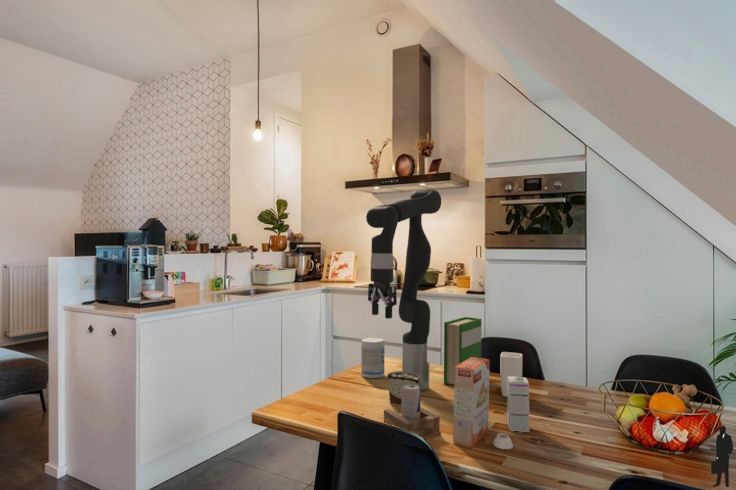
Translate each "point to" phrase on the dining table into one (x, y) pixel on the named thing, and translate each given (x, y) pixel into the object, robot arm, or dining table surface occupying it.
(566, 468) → the dining table surface
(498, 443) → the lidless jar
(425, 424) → the walnut cradle
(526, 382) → the syrup box
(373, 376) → the supplement tub
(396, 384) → the food container
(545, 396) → the dining table surface
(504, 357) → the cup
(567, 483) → the dining table surface
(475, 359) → the cracker box
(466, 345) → the hardback book
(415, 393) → the energy drink
